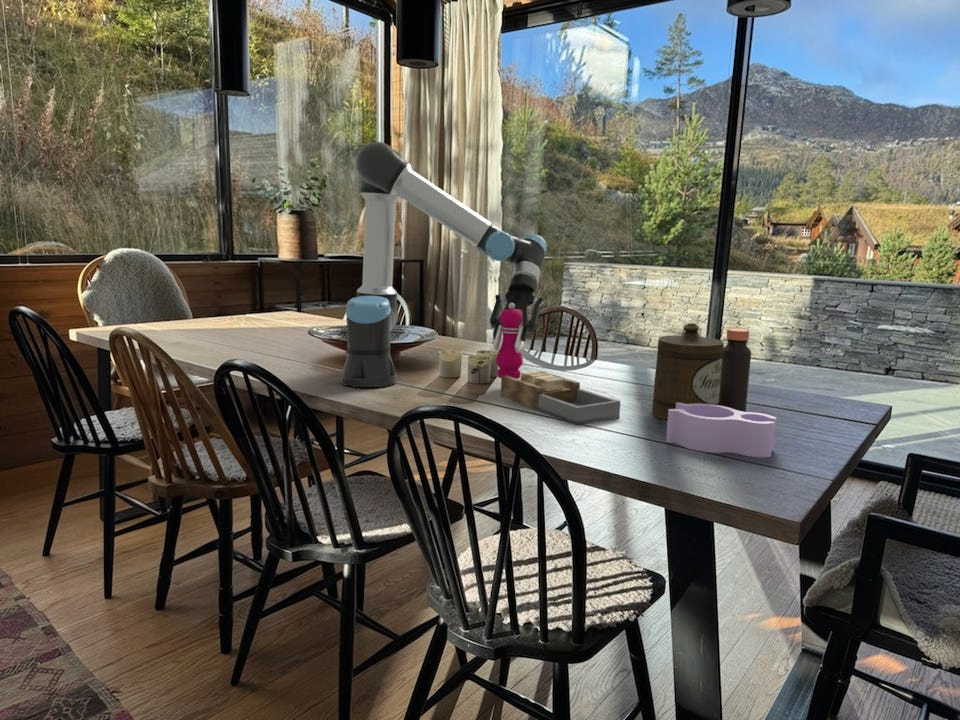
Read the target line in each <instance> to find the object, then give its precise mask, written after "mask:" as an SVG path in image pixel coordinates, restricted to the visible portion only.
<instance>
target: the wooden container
mask: <svg viewBox="0 0 960 720" xmlns="http://www.w3.org/2000/svg"><path fill="white" fill-rule="evenodd" d="M699 329H700V326H699V325H698V324H696V323H694V322H693V323H691V322H688V323H687V324H684V326H683V330H684V332H683V333H682V334H681V335H680V334H678V335H673V334H672V335H663V336H660V337H658V340H657V353H656V363H655V364H656V365H655V372H654V373H655V374H654V382H653V383H654V384H653V392H652V393H653V394H652V398H653V399H652V410H651V411H652V414H653V415H654V416H655V417H656V418H659V419H661V418H662V420H664V421H668V409H676V403H678V402H680V403H684V404H694V403H700V404H713V405H718V403H719V394H720V383H721V368H722V355H723V348H724V347H725V343H724V341H722V340H720V339H717V338H714V337H713V338H712V337H706V336H701V334H699V332H698V331H699Z"/></svg>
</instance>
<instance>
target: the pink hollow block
mask: <svg viewBox="0 0 960 720" xmlns="http://www.w3.org/2000/svg"><path fill="white" fill-rule="evenodd" d="M777 419H778V418H777V417H776V416H773V415H770V414H767V413H760V412H752V411H751V412H750V411H746V412H743V411H738V410H735V409H732V408H729V407H725V406H720V405H713V404H700V403H694V404H684V403H680V402H678V403H676V409H668V420H667V426H666V435H665V436H666V437H665V441H666V442H667V443H673V444H674V443H675V444H677V445H679V446H681V447H684V448H686V449H689V450H693V451H698V452H703V453H713V454H715V453H716V454H719V453H723V454H724V453H733V454H739V455H741V456H742V455H743V456H746V457H747V456H748V457H753V458H770V457H772V452H774V448H775V437H776V429H777V428H776V427H777Z"/></svg>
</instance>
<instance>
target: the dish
mask: <svg viewBox="0 0 960 720" xmlns="http://www.w3.org/2000/svg"><path fill="white" fill-rule="evenodd" d="M537 411H538V412H540V413H543V414H545V415H548V416H551V417H553V418H556V419H559V420H560V421H563V422H566V423H569V424H572V425H574V426H582V425H586V424H593V423H597V422H603V421H610V420H616V419H620V414H621V401H620V400H618V399H615V398H612V397H609V396H606V395H602V394H599V393H596V392H592V391H589V390H585V389H583V388H580V389H577V398H576V402H572V403H567V402H564V401H561V400H559V399H556V398H553V397H550V396H547V395H544V394H539V398H538V410H537Z"/></svg>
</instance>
